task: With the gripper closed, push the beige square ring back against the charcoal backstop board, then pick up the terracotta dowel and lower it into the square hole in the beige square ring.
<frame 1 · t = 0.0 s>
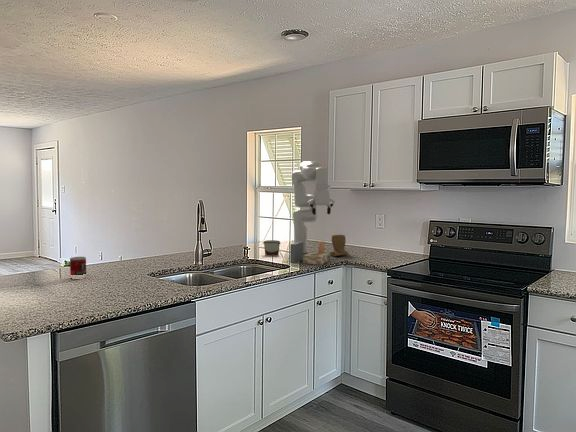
hand: (321, 214, 283), 31 cm above the worktop, tool pointing down, fingers open, 9 cm apart
canned food: (78, 278, 237), on the worktop
beige square ring: (315, 258, 286), point 3 cm above the worktop, slide at 5.0 cm
backstop: (296, 261, 292), on the worktop
brown chunky piece: (338, 255, 317), on the worktop
food container: (272, 254, 318), on the worktop
dowel: (321, 259, 297), on the worktop
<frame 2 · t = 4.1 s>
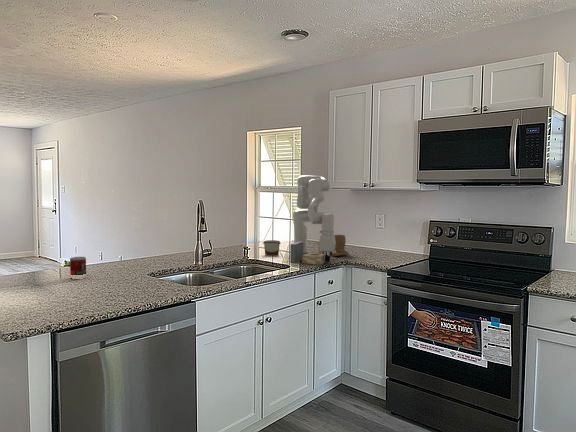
hand: (327, 261, 283), 1 cm above the worktop, tool pointing down, fingers closed
beige square ring: (314, 258, 286), point 3 cm above the worktop, slide at 4.7 cm, touching gripper
everything else where it was.
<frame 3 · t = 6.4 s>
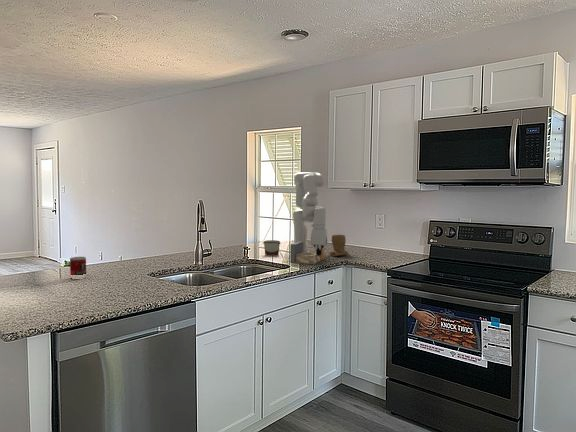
hand: (318, 255, 286), 5 cm above the worktop, tool pointing down, fingers closed
beige square ring: (307, 258, 288), point 3 cm above the worktop, slide at 0.0 cm
everything else where it was.
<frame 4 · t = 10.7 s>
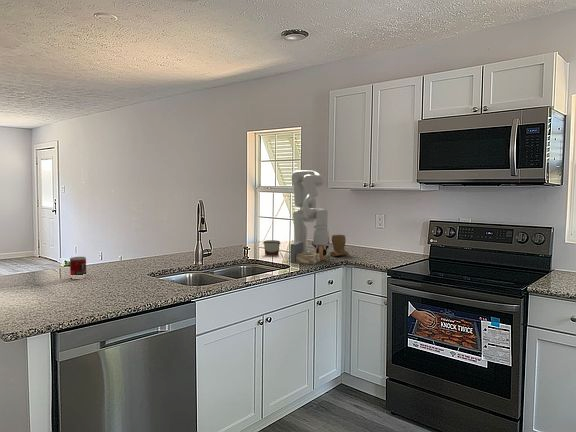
hand: (321, 254, 297), 3 cm above the worktop, tool pointing down, fingers closed on dowel, 4 cm apart
dowel: (321, 259, 297), on the worktop, touching gripper
everything else where it was.
when the fingers open (6 cm above the worktop, at t = 16.0 s): dowel drops 3 cm, resting in beige square ring.
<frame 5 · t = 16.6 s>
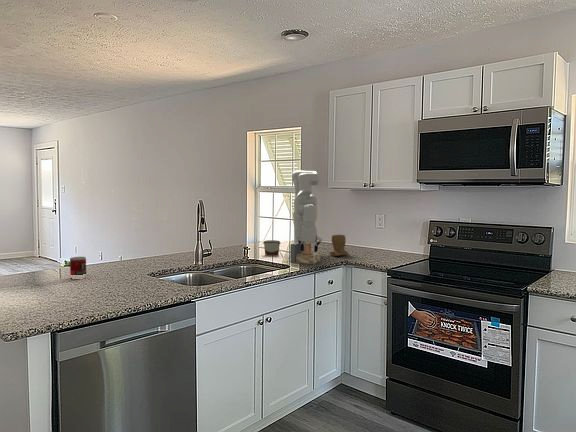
hand: (309, 251, 288), 7 cm above the worktop, tool pointing down, fingers open, 8 cm apart
dowel: (307, 262, 288), resting in beige square ring
everything else where it was.
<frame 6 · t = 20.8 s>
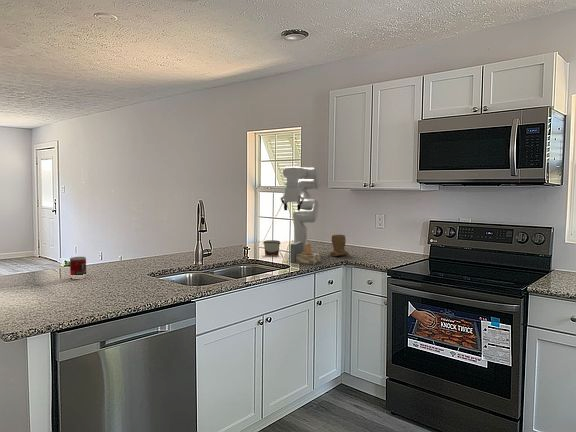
hand: (292, 210, 303), 32 cm above the worktop, tool pointing down, fingers open, 9 cm apart
nothing on the worktop moved.
at the end: beige square ring slide at 0.0 cm; dowel 0.0 cm off-centre on the beige square ring, point 0.0 cm above the beige square ring's base; dowel tilted 0° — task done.
